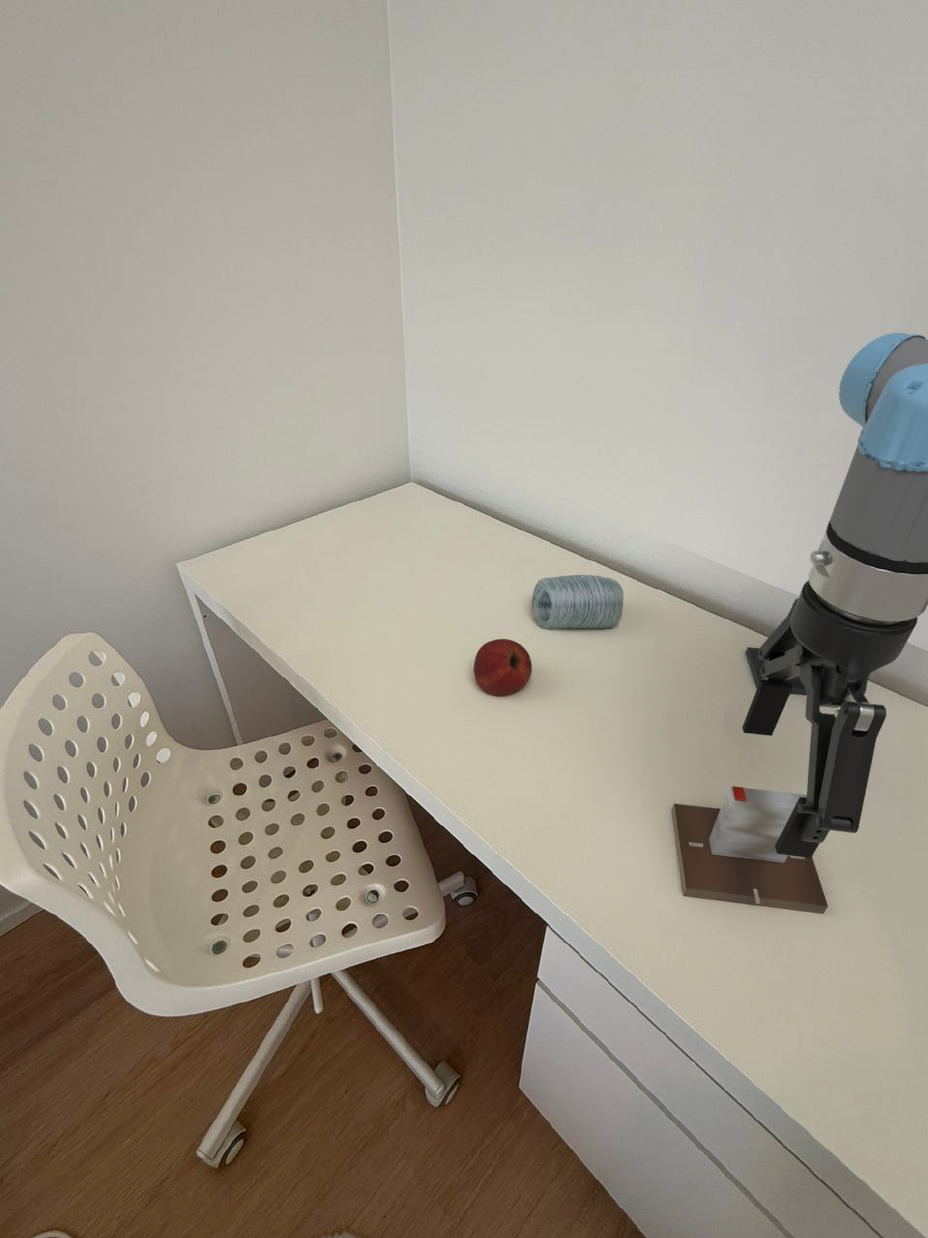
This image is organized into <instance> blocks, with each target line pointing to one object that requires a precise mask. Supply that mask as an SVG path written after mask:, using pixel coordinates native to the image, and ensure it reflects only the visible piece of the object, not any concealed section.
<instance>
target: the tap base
mask: <svg viewBox="0 0 928 1238" xmlns="http://www.w3.org/2000/svg"><path fill="white" fill-rule="evenodd" d="M720 809H721V808H718V807H711V806H710V807H709V806H700V805H691V804H682V803H673V806H672V809H671V817H672V824H673V830H674V837H675V838H674V839H675V846H676V853H677V860H678V861H677V862H678V869H679V875H680V882H681V889H682V896H683V897H685V898H694V899H701V900H711V901H718V902H725V903H732V904H742V905H749V906H757V907H765V908H772V909H780V910H781V909H782V910H787V911H794V912H795V911H796V912H804V913H812V914H819V915H824V914H825V912H826V911H827V909H828V908H829V905H828V902H827V899H826V896H825V895H826V894H825V893H824V890H823V886H822V884H821V880H820V877H819V873H818V871H817V868H816V865H815V862H814V858H813V856H812V857H811V858H807V857H799V856H791V855H788V857H787V858H786V860H785V862H784V863H780V862H771V861H763V860H755V859H746V858H738V857H730V856H721V855H713V854H712V853H711V848H710V842H709V838H710V835H711V833H712V830H713V828H714V825H715V822H716V820H717V817H718V815H719V812H720Z"/></svg>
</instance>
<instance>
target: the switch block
mask: <svg viewBox="0 0 928 1238" xmlns="http://www.w3.org/2000/svg"><path fill="white" fill-rule="evenodd" d="M759 648H760V647H753V646H752V647H750V646H747V647H746V649H745V657H746V660H747V662H748V665H749V668H750V671H751V675H752V678H753V681H754V685H755V687H756V689H757V688H758V685H759V682H760V680H762V678H763V677H762V676H761V672H760V669H761V666H762V665H763V664H765V663H764V660H763V659H759V657H758V651H759ZM796 678H797V679H798V680H792V679H784V681H783V682H790V683H791V685H792V690H791V693H790V695H797V696H807V693H806V689H805V687H804V685H803V684H802V683H801V680H800V678H799V676H798V677H796Z"/></svg>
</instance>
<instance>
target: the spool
mask: <svg viewBox="0 0 928 1238" xmlns="http://www.w3.org/2000/svg"><path fill="white" fill-rule="evenodd" d="M531 599H532V601H531V602H532V603H531V604H532V605H531V607H532V615H533V619H534V622H535V623H536V625H537V626H538V627H540V628H541V629H546V630H554V629H555V630H560V629H561V630H562V629H589V630H590V629H591V630H593V629H600V630H603V629H613V628H615V627H616V626H617V625H618V624H619V622H620V620H621V619H622V616H623V609H624V589H623V587H622V586H621V584H620V583H619V582H618V581H617V580H616V579H614V578H611V577H607V576H602V575H594V574H570V575H560V576H552V577H551V576H550V577H544V578H542V579H540V580H538V581H537V583H536V584H535V586H534V589H533V592H532V598H531Z"/></svg>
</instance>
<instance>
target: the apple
mask: <svg viewBox="0 0 928 1238" xmlns="http://www.w3.org/2000/svg"><path fill="white" fill-rule="evenodd" d="M532 672H533V664H532V659H531V656H530V654H529V652H528V651H527V649H526V648H525V647H524V646H523V645H522V644H520V643H519V642H517V641H514V640H512V639H507V638H497V639H493V640H489V641H487V642H485V643H484V644H483V645H481V647H480V648H479V649H478V651H477V652H476V655H475V658H474V662H473V675H474V680H475V682H476V684H477V685H478V687H479V688H480V689H481V690H482V691H483V692H485V693H486V694H488V695H492V696H496V697H507V696H511V695H513V694H515V693H517V692H519V691H520V690H521V689H523V688H524V687H525V686H526V685H527V683H528V682H529V680H530V678H531V676H532Z"/></svg>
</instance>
